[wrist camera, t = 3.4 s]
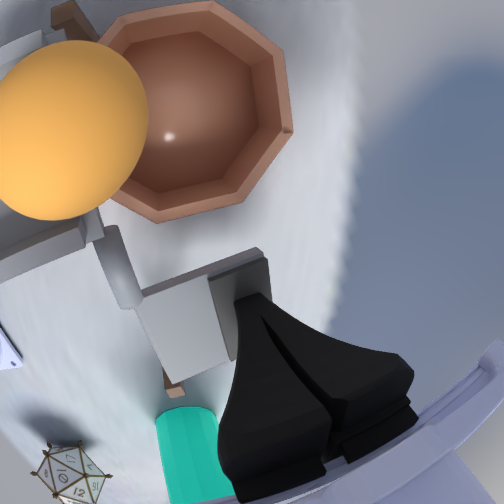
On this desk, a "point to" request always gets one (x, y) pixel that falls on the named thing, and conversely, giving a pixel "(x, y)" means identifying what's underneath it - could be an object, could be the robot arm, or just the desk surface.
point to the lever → (123, 277)
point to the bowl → (201, 107)
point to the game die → (71, 475)
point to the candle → (191, 455)
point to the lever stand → (81, 29)
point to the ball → (69, 129)
